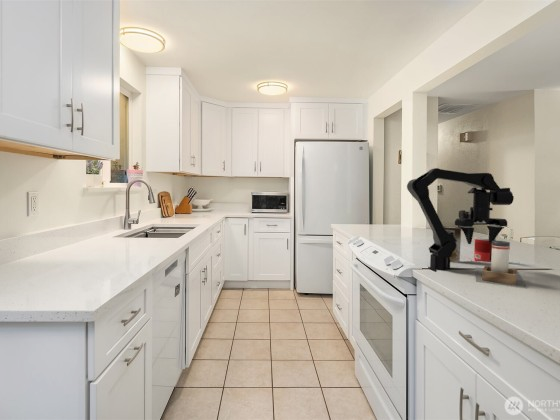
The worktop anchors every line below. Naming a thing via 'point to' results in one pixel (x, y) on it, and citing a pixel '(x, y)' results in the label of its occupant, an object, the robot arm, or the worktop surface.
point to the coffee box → (457, 235)
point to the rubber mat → (519, 283)
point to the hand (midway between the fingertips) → (479, 243)
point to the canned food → (482, 249)
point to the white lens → (500, 256)
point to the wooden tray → (499, 276)
